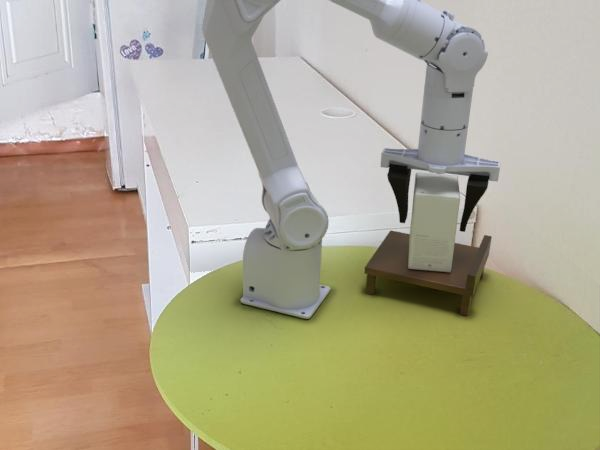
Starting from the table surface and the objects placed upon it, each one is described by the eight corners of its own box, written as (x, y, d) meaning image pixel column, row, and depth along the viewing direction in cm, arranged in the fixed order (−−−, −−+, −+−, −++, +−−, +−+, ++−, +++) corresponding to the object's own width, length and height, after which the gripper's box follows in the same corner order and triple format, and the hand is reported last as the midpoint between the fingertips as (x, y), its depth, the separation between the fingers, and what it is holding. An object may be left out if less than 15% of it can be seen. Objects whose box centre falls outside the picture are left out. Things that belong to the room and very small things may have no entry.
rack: (362, 293, 98) (365, 253, 96) (388, 255, 108) (391, 217, 106) (469, 318, 94) (475, 276, 91) (485, 275, 104) (491, 236, 101)
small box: (451, 274, 95) (461, 198, 91) (406, 269, 96) (414, 194, 92) (449, 246, 103) (459, 174, 98) (408, 242, 103) (415, 170, 99)
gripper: (379, 126, 90) (371, 228, 95) (504, 140, 86) (488, 245, 92) (389, 110, 96) (381, 207, 102) (506, 122, 92) (491, 222, 98)
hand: (432, 224), depth 97 cm, fingers open, 7 cm apart
